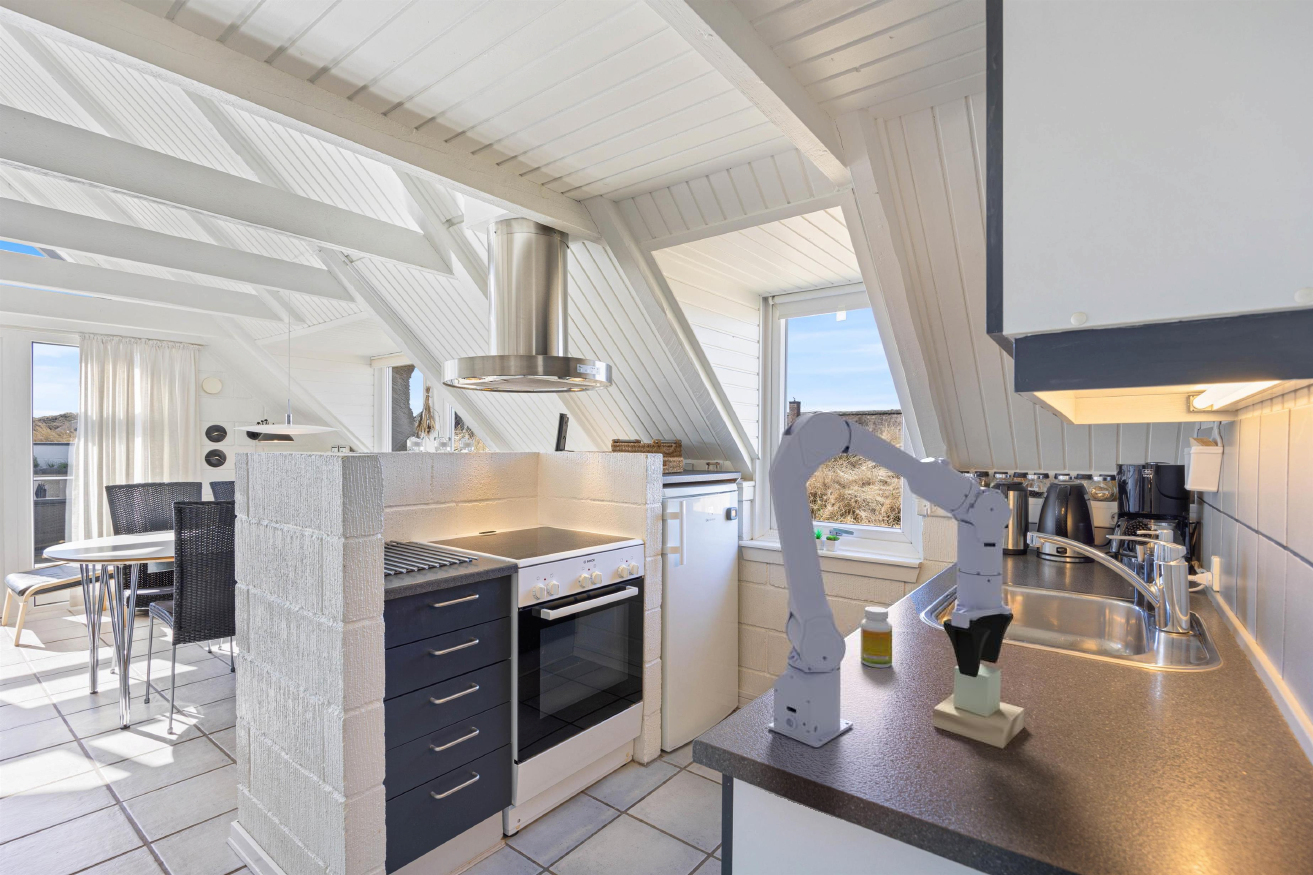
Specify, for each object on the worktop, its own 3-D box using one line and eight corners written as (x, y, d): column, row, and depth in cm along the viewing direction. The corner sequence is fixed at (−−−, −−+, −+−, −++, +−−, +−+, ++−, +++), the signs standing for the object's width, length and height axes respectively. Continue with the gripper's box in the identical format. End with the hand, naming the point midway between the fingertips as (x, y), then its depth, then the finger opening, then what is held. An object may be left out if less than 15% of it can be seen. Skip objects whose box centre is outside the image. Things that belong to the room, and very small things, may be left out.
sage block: (986, 717, 87) (987, 676, 87) (953, 705, 90) (954, 667, 90) (999, 708, 90) (1000, 669, 90) (967, 697, 93) (968, 660, 93)
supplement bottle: (896, 668, 112) (896, 613, 112) (865, 668, 112) (866, 613, 112) (886, 657, 117) (886, 605, 117) (856, 657, 118) (857, 605, 117)
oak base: (1002, 751, 84) (1002, 728, 84) (933, 729, 90) (933, 708, 90) (1024, 729, 90) (1024, 708, 90) (958, 710, 96) (958, 690, 96)
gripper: (991, 584, 82) (990, 690, 82) (1027, 568, 92) (1026, 662, 92) (936, 575, 87) (935, 675, 87) (975, 561, 97) (975, 650, 97)
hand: (978, 667), depth 90 cm, fingers open, 7 cm apart
